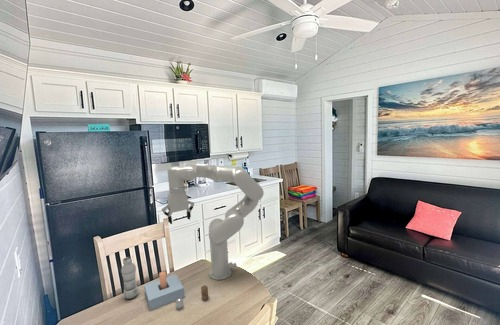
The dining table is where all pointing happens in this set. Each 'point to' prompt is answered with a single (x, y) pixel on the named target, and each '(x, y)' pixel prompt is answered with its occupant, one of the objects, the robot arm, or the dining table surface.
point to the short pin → (179, 303)
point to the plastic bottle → (129, 278)
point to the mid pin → (204, 293)
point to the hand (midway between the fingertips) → (179, 220)
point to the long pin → (163, 280)
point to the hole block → (163, 292)
